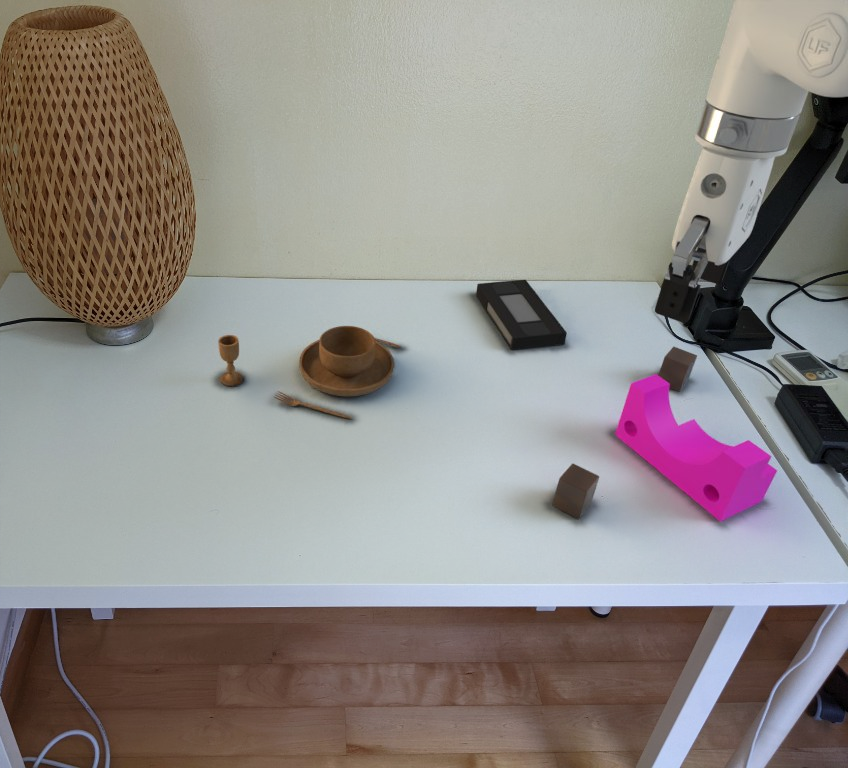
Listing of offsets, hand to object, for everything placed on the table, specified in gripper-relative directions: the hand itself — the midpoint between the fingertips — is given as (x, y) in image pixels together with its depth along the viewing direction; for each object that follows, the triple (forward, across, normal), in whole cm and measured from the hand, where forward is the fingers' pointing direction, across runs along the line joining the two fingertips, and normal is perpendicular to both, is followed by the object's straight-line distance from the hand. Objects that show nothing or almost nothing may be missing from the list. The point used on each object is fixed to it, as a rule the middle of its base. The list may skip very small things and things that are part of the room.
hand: (688, 297), depth 77 cm
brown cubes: (+19, -1, +2) cm, 19 cm away
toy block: (+19, -1, -5) cm, 20 cm away
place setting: (+19, -14, +38) cm, 44 cm away
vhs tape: (+19, +13, +23) cm, 33 cm away
